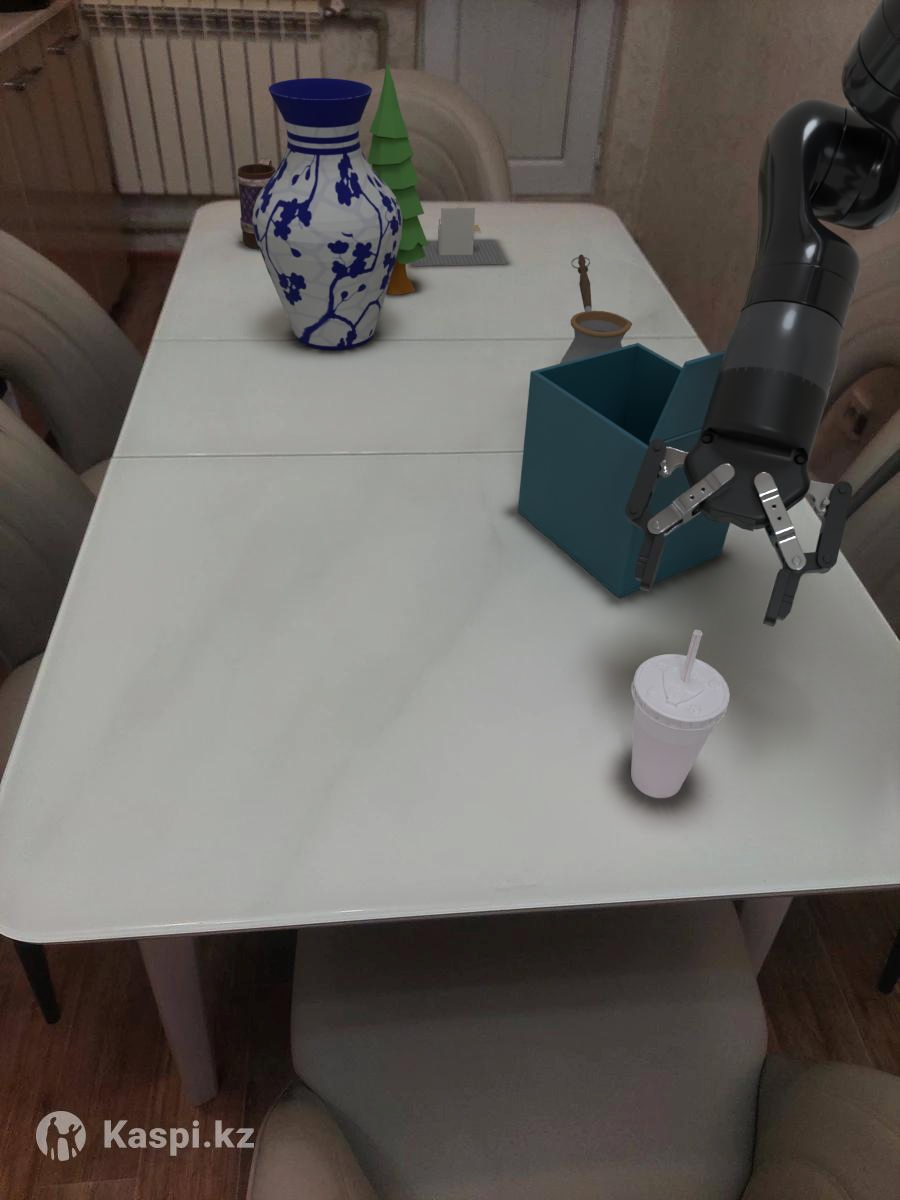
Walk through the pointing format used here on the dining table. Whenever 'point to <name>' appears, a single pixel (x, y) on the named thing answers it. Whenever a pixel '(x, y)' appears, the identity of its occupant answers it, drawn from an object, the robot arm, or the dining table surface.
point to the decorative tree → (397, 180)
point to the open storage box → (606, 464)
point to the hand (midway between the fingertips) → (706, 606)
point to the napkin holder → (459, 242)
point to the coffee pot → (593, 324)
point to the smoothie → (673, 717)
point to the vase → (327, 217)
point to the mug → (252, 194)
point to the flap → (689, 397)
